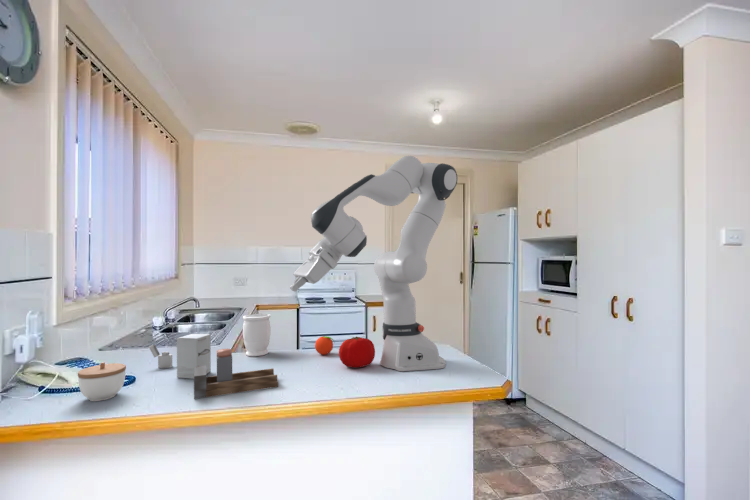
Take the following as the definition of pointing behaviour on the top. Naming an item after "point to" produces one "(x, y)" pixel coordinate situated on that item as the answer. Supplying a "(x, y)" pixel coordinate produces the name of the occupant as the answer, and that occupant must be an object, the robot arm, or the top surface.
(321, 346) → the clementine
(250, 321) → the jar
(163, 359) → the lighter
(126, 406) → the top surface
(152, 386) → the top surface
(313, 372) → the top surface
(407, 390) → the top surface
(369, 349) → the tomato
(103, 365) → the lidded jar
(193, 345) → the supplement box
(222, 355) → the dome-capped grey post
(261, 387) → the base
